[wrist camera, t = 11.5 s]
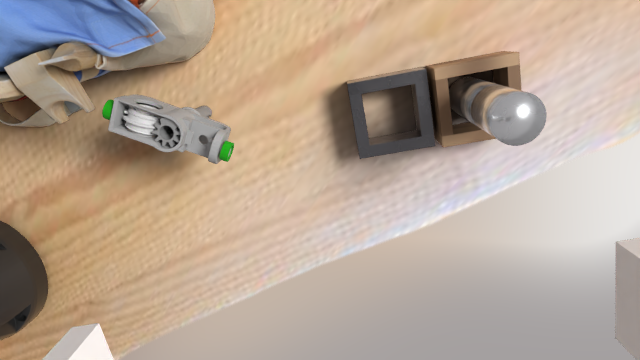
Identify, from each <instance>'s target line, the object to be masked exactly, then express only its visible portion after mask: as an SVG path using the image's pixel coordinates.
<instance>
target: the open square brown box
mask: <svg viewBox="0 0 640 360" xmlns="http://www.w3.org/2000/svg"><path fill="white" fill-rule="evenodd" d="M426 70H427V78H428V87H429V95H430V104H431V112H432V121H433V129H434V138H435V139H436V140H437V141H438V142H439V144H440V145H441V146H442V147H449V146H455V145H461V144H466V143H472V142H478V141H484V140H490V139H496V138H495V137H493V136H492V135H490V134H488V133H487V132H485V131H484V130H482V129H481V128H479V127H478V126H476V125H474V124H473V123H471V122H466V123H460V124H455V125H452V118H451V108H450V98H449V89H448V79H447V78H450V77H455V76H461V75H466V74H471V73H477V72H482V71H487V70H493V79H494V83H495V84H499V85H502V86H506V87H509V88H513V89H517V90H520V91H521V77H520V59H519V52H507V51H501V52H496V53H491V54H486V55H481V56H475V57H470V58H465V59H460V60H454V61H449V62H444V63H439V64H433V65H428V66H426Z"/></svg>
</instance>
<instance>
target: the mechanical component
mask: <svg viewBox="0 0 640 360" xmlns="http://www.w3.org/2000/svg"><path fill="white" fill-rule="evenodd" d="M102 114H103V118H105V119H108V120H110V124H109V129H108V131H111V132H114V133H117V134H120V135H122V136H125V137H128V138H131V139H134V140H137V141H139V142H142V143H145V144H148V145H151V146H153V147H155V148H156V149H158V150H160V151H163V152H172V151H174V150H177V151H180V152H183V151H185V150H187V151H190V152H192V153H195V154H198V155H201V156H204V157H207V158H208V161H209V162H212V163H215V164H217V163H218V162H220V161H221V160H223V161H226V162H228V161H229V159H230V157H231V154H232V151H233V148H234V143H231V142H228V137H229V134H230V131H231V128H230V127H228V126H227V125H225V124H223V123H220V122H217V121H214V120H212V119H209V116H211V114H212V110H211V109H210V108H209V107H207V106H201V107H198V108H196V109H193V108H190V107H184V108H178V107H175V106H173V105H170V104H167V103H164V102H162V101H159V100H156V99H153V98H150V97H147V96H142V95H130V96H121V97H117V98H115V99H114V101H113V100H108V101H107V102H106V104H105V105H104V108H103V113H102ZM129 130H130V131H131V132H130V131H129ZM154 136H155V137H154Z"/></svg>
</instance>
